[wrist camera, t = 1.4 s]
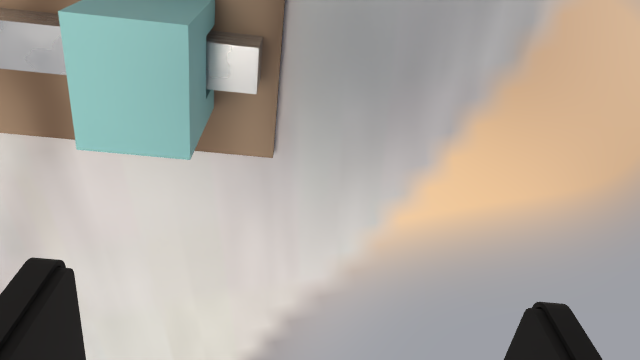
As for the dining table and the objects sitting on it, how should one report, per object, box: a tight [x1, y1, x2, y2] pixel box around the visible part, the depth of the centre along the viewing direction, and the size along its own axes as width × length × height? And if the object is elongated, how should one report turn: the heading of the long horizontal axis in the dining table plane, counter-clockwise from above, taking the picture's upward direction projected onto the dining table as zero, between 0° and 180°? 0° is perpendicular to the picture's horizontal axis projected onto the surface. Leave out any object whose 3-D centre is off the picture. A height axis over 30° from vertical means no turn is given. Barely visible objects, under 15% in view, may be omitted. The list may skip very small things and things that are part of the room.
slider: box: [58, 0, 215, 160], centre depth 24 cm, size 5×6×6 cm
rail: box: [0, 8, 263, 94], centre depth 26 cm, size 21×2×2 cm, turn 84°
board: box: [0, 0, 285, 158], centre depth 27 cm, size 24×12×1 cm, turn 84°
